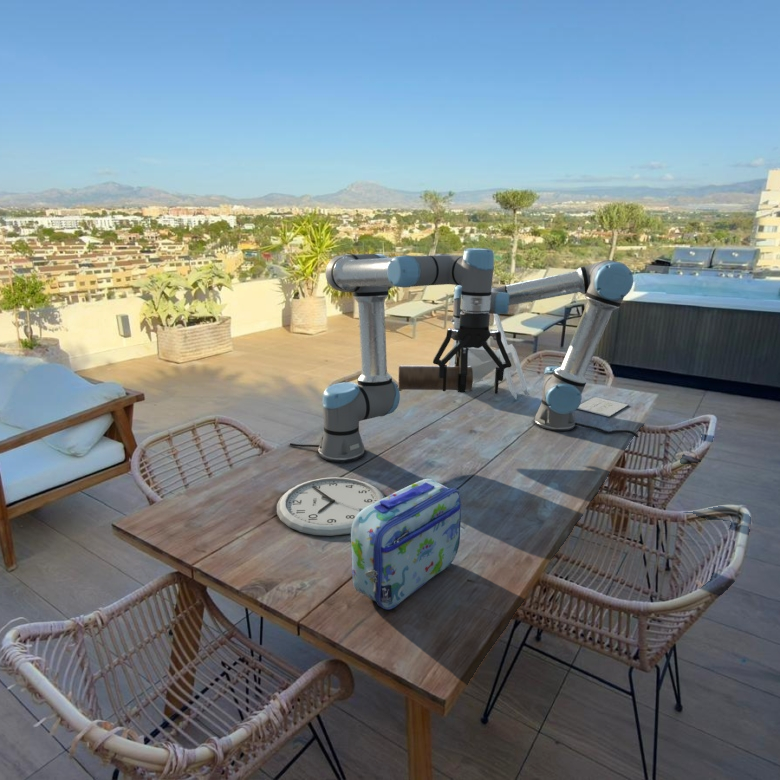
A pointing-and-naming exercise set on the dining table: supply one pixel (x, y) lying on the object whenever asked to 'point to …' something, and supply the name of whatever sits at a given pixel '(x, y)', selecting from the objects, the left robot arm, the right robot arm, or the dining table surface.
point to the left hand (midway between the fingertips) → (469, 391)
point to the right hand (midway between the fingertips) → (459, 388)
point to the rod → (431, 378)
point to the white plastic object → (486, 364)
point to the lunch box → (405, 541)
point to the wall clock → (326, 505)
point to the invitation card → (601, 406)
